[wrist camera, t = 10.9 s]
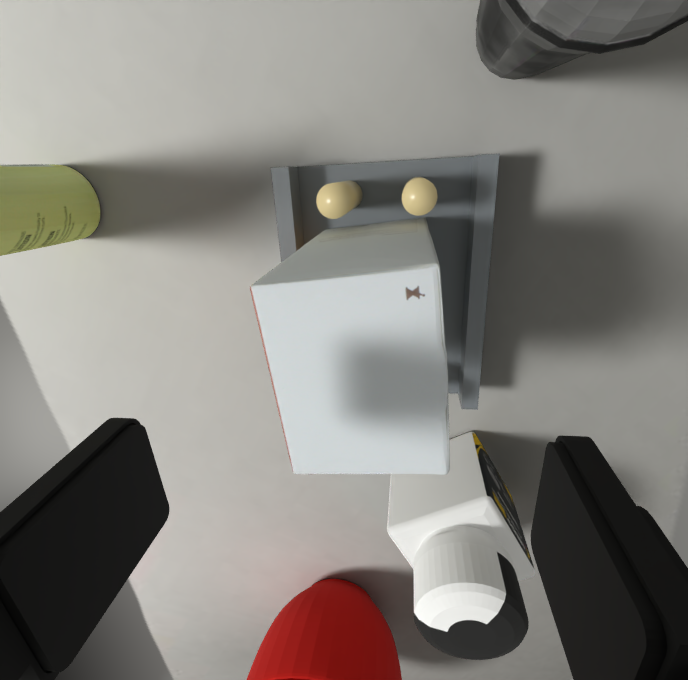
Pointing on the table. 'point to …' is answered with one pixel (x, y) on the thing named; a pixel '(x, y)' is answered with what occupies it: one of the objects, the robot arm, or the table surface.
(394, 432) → the small box
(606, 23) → the beverage cup
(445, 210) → the pin tray
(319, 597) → the ceramic cup
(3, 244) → the tube
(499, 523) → the medicine bottle
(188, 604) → the table surface
